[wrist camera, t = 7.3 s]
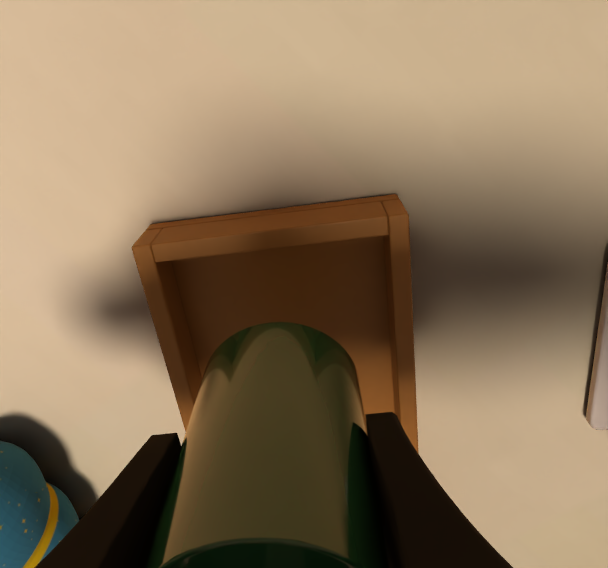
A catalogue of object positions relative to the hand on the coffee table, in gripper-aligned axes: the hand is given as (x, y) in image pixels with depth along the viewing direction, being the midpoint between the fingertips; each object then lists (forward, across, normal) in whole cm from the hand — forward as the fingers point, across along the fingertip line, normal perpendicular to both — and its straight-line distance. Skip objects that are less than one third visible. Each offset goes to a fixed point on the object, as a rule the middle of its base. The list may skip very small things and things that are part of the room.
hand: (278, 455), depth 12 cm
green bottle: (+3, 0, 0) cm, 3 cm away
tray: (+7, 0, +8) cm, 10 cm away
